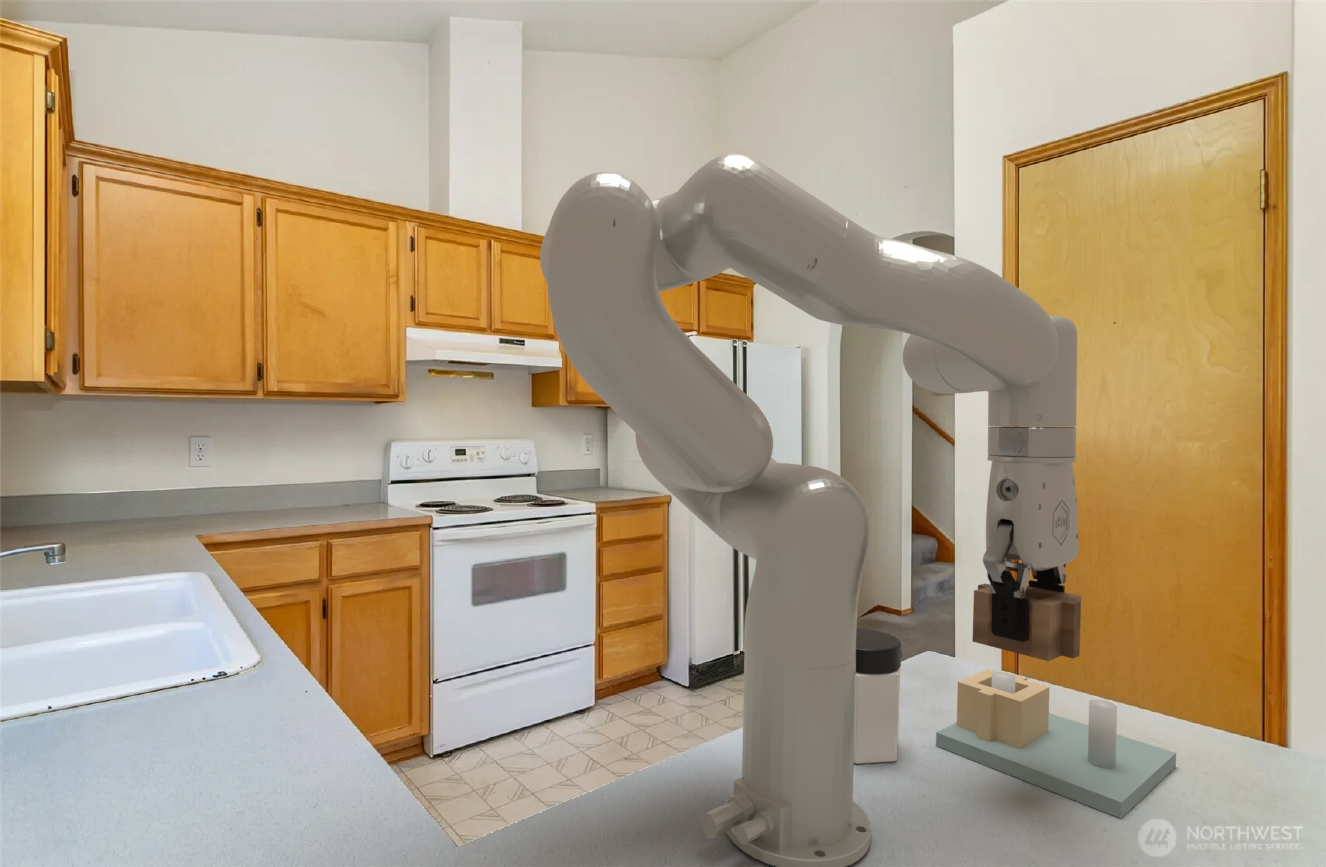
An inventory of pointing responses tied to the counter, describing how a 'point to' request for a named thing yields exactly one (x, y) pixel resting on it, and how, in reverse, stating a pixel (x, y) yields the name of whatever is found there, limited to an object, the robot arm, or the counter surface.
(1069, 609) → the ribbed wooden holder
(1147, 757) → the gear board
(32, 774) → the counter surface
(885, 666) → the jar
